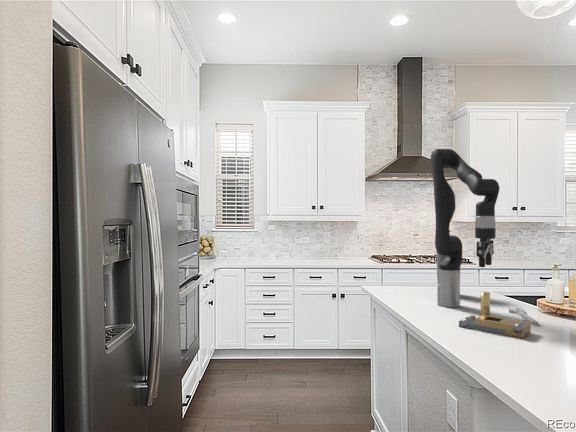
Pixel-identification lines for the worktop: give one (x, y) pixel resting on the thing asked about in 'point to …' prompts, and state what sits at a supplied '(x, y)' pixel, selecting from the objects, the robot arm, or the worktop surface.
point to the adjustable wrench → (524, 315)
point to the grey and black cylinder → (439, 260)
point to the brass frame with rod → (498, 325)
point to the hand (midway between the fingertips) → (485, 266)
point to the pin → (485, 303)
